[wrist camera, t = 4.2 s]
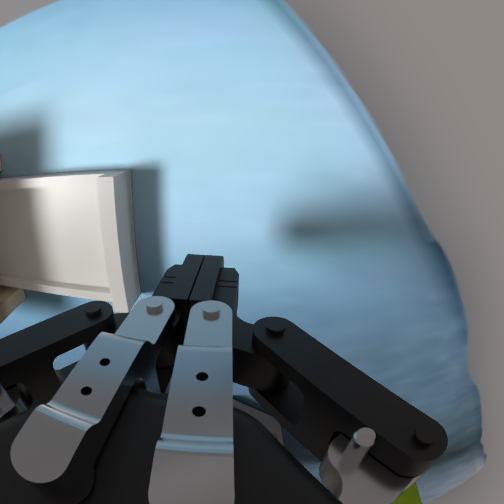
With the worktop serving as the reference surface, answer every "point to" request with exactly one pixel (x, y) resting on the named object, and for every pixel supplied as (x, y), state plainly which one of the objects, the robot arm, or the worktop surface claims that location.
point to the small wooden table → (9, 297)
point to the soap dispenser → (409, 496)
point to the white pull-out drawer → (70, 235)
